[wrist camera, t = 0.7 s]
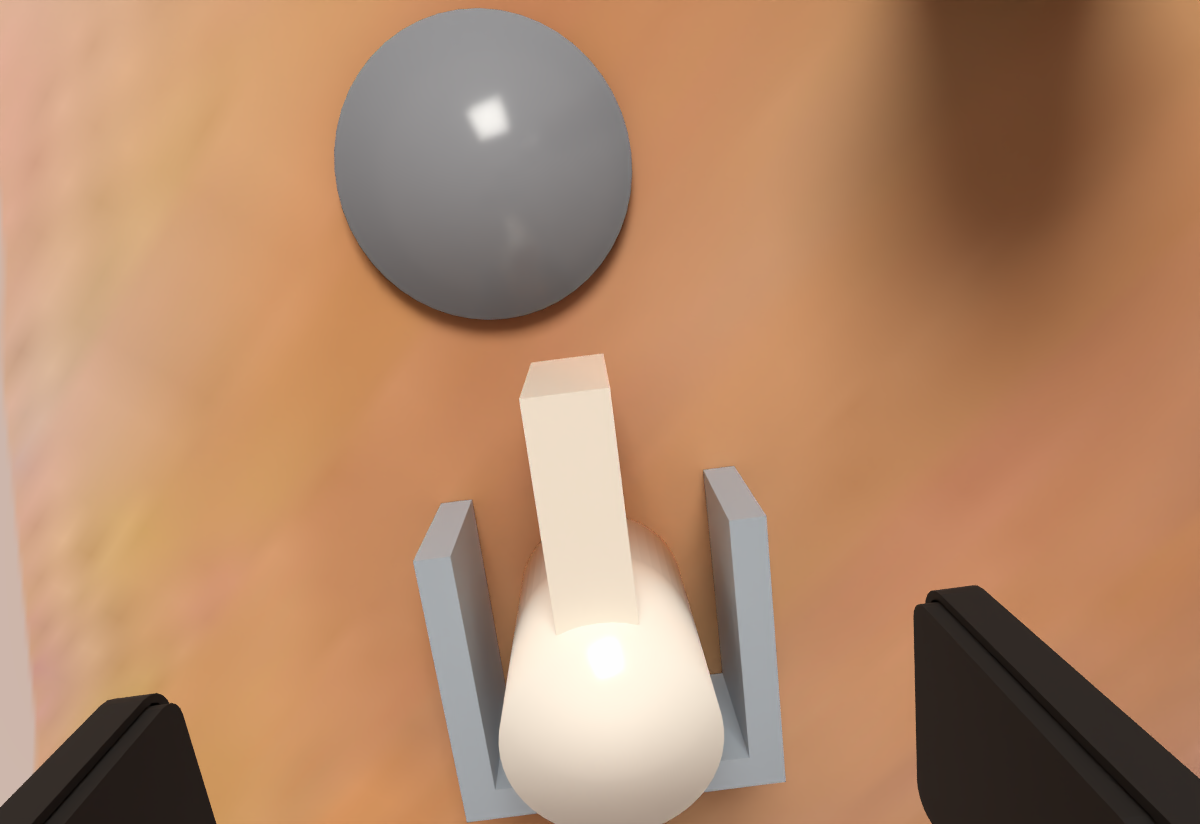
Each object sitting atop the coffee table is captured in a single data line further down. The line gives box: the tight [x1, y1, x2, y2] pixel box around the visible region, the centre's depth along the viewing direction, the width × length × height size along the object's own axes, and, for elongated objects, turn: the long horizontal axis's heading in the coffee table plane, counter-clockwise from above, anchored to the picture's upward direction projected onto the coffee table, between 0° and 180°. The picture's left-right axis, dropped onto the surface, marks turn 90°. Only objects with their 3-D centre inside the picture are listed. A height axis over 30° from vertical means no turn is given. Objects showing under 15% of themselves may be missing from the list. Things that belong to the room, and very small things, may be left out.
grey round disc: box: [334, 8, 632, 320], centre depth 25 cm, size 10×10×1 cm
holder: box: [413, 466, 786, 822], centre depth 27 cm, size 11×10×5 cm
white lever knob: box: [499, 354, 724, 824], centre depth 24 cm, size 13×6×9 cm, turn 7°
